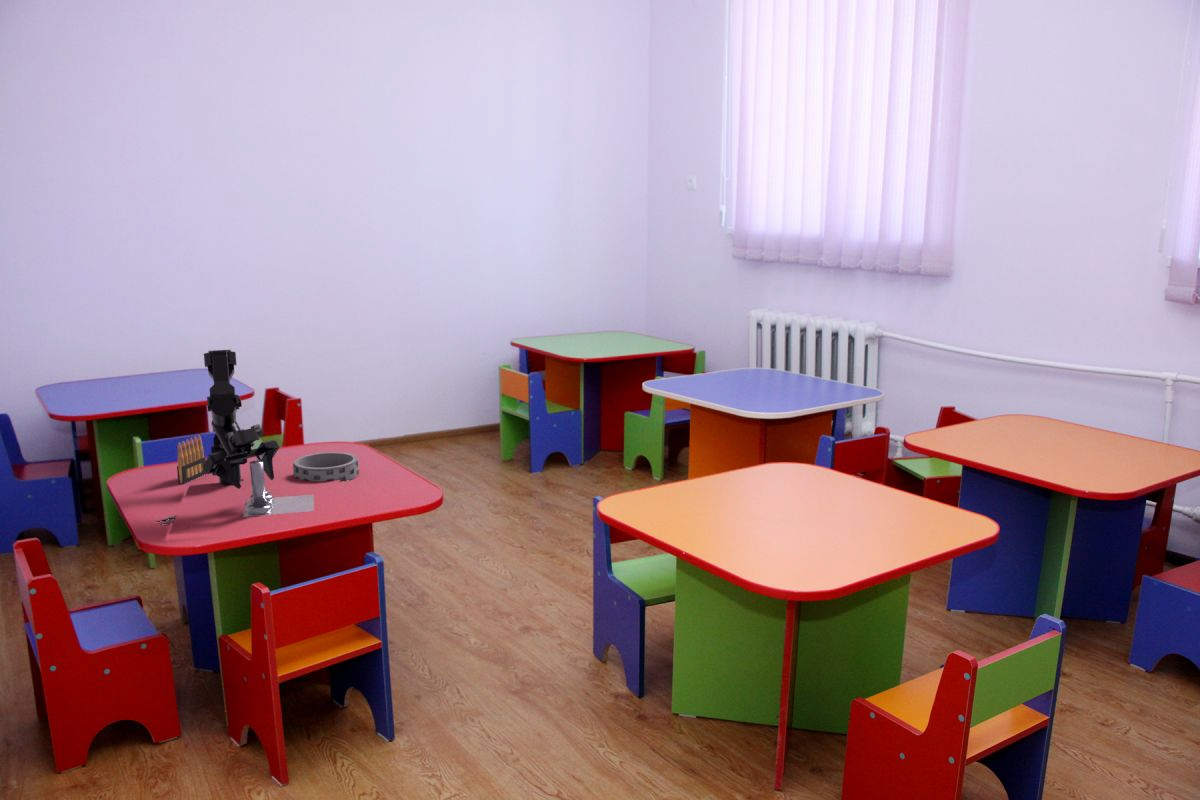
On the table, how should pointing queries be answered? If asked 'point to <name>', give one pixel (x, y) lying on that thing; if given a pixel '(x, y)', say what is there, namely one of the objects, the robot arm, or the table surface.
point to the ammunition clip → (190, 460)
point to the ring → (326, 466)
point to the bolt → (258, 490)
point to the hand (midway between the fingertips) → (256, 483)
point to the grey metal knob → (268, 497)
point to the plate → (287, 505)
